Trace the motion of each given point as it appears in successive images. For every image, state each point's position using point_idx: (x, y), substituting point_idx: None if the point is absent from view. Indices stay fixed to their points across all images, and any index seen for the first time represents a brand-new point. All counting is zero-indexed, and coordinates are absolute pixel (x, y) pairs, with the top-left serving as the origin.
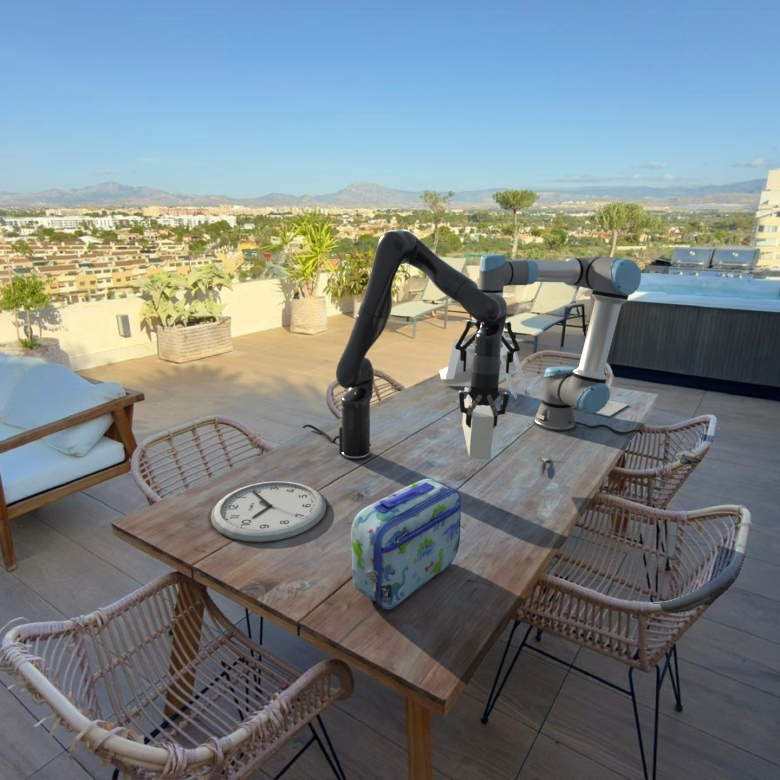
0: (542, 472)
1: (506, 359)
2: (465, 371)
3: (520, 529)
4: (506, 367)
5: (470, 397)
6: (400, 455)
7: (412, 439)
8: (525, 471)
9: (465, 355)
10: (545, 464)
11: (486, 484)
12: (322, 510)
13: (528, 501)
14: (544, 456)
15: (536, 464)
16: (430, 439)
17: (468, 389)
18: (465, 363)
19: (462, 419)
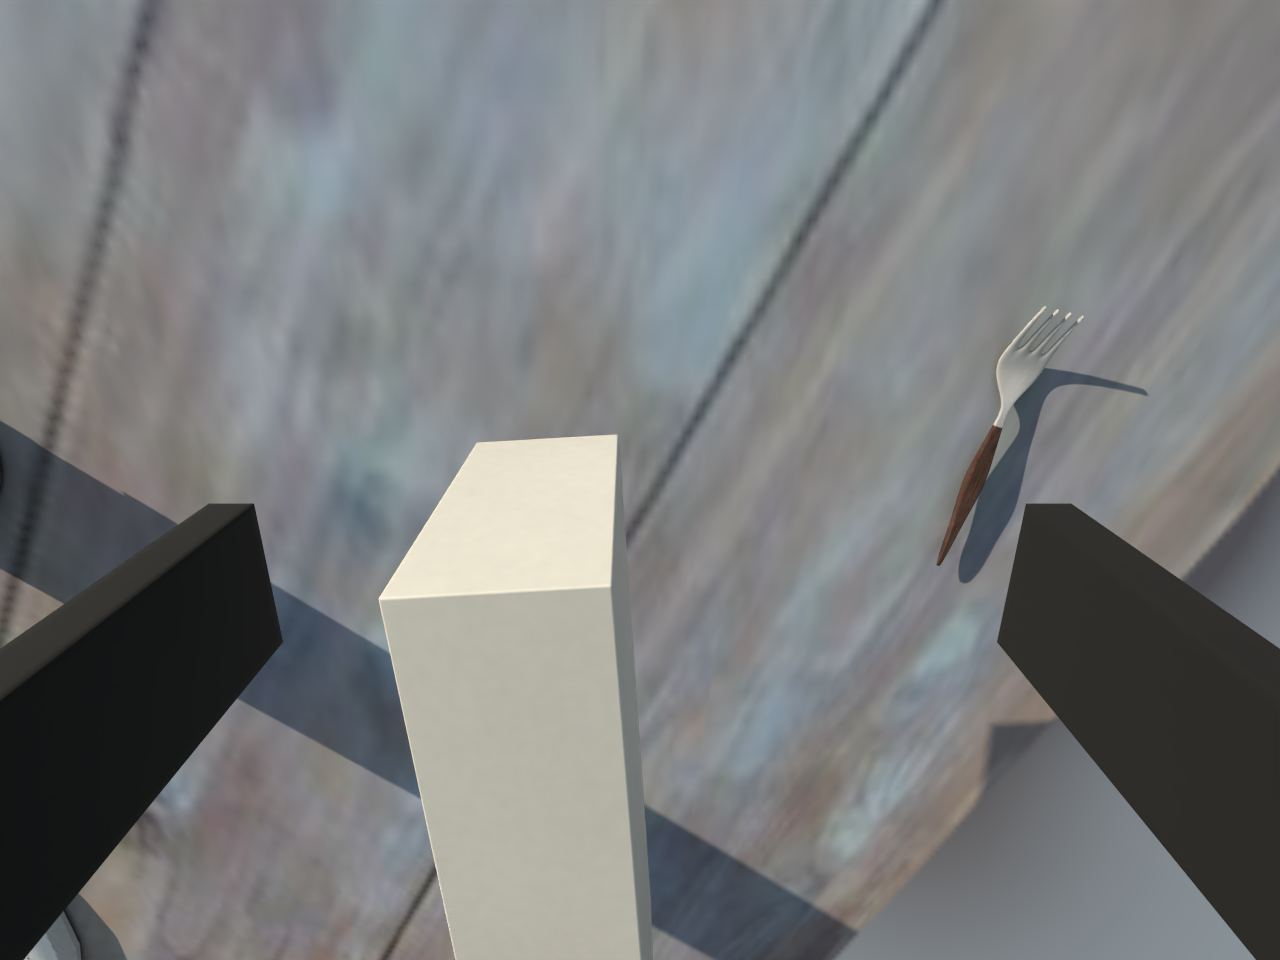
0: (940, 558)
1: (1184, 690)
2: (277, 646)
3: (738, 926)
4: (1054, 688)
5: (471, 894)
6: (173, 429)
7: (168, 155)
8: (860, 524)
9: (26, 916)
10: (988, 466)
11: (648, 672)
12: (59, 945)
13: (805, 774)
14: (1023, 351)
15: (943, 434)
16: (293, 133)
17: (432, 669)
18: (181, 752)
19: (468, 457)
